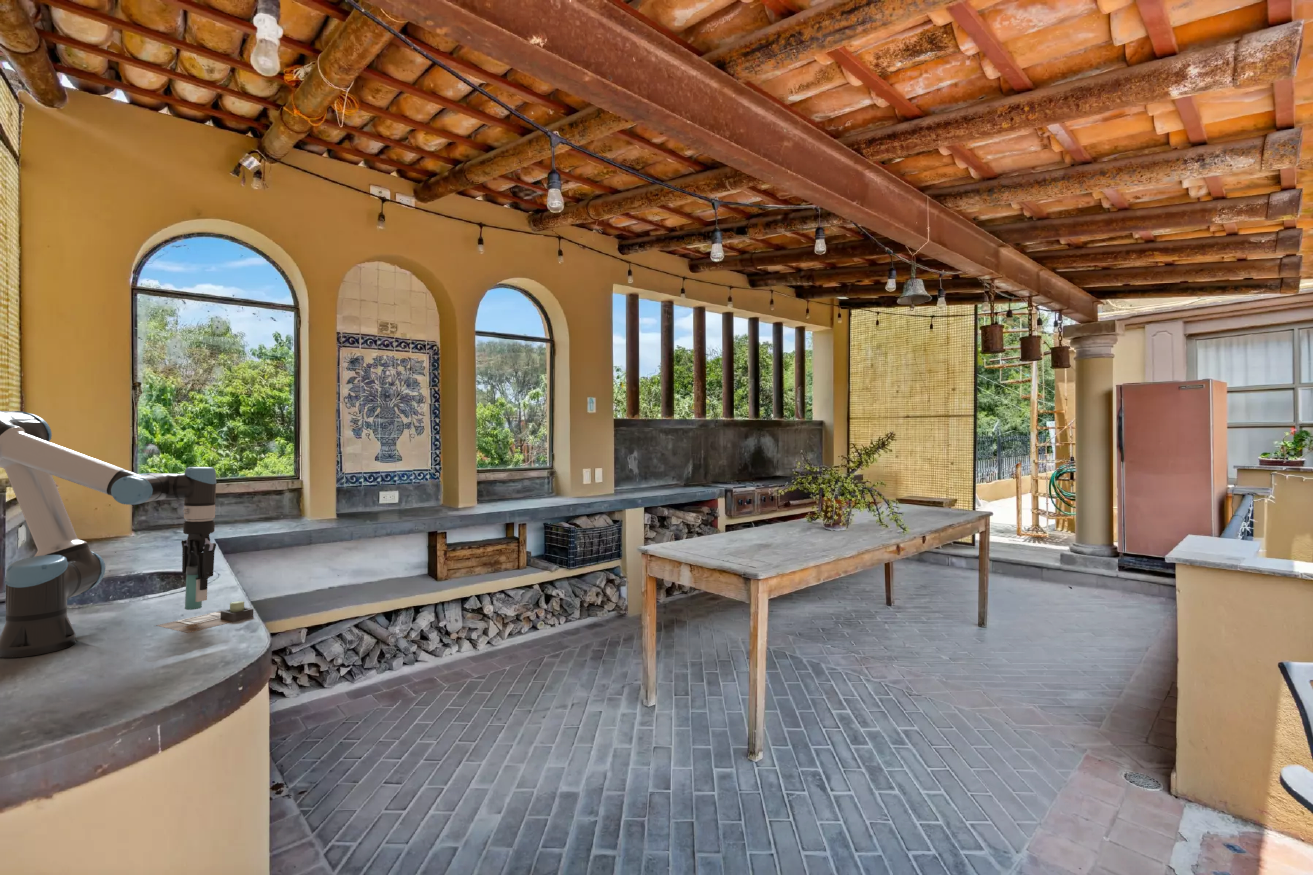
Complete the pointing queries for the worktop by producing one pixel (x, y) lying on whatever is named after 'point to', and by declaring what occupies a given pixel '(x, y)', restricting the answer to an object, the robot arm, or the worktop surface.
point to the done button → (237, 606)
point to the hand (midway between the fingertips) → (196, 599)
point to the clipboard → (208, 620)
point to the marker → (191, 589)
